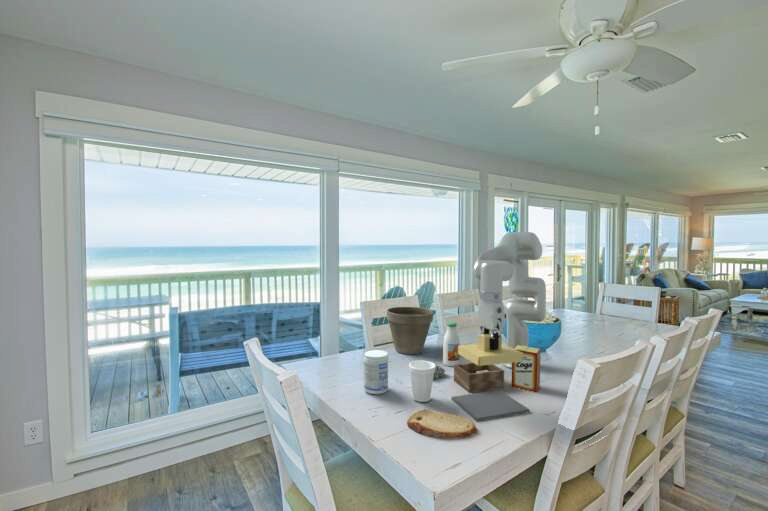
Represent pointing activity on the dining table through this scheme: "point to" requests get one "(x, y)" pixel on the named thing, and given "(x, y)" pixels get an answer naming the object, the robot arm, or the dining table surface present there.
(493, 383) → the box
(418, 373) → the cup
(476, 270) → the robot arm
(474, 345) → the lid
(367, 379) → the supplement tub
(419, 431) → the slice of bread
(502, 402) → the mat
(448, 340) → the milk bottle
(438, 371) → the egg carton
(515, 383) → the baking soda box
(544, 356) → the dining table surface
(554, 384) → the dining table surface
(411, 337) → the plant pot
